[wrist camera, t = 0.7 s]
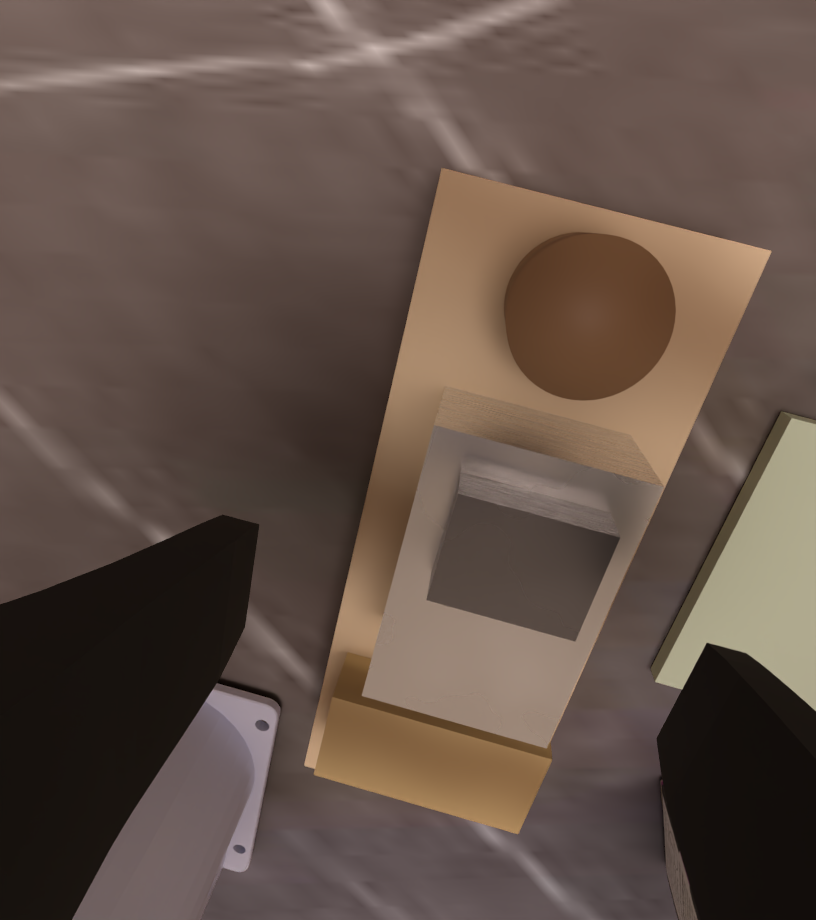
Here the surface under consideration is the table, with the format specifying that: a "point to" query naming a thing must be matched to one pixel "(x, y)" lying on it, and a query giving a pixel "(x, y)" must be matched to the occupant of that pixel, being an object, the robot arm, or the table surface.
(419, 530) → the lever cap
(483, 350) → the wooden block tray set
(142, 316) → the table surface
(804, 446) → the felt mat
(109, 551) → the table surface
